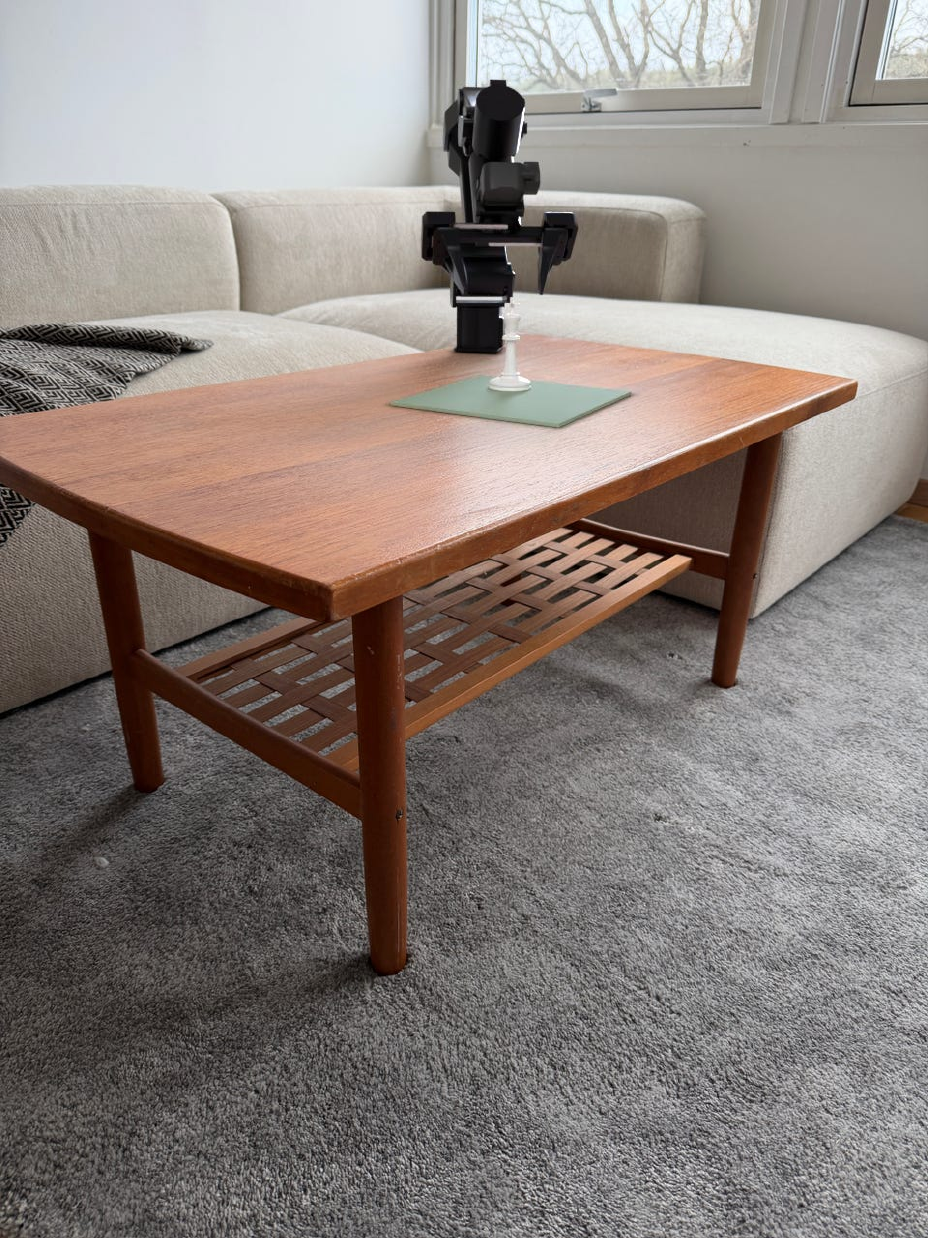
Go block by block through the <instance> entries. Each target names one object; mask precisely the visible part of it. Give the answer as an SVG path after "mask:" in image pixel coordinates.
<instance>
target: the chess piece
mask: <svg viewBox="0 0 928 1238" xmlns="http://www.w3.org/2000/svg"><path fill="white" fill-rule="evenodd" d="M504 308H505V309H506V308H507V309H509V312H508V313H505V314H503V315H502V316H503V320H504V323H505V331H506V332H505V335H504V336H502V339H503V340H505V341H506V348H505V356H504V363H503V369H502V371H500V372H499V374H500V376H496V378H494V379H491V380H490V382H489V383H490V385H489V388H490V389H493V390H497V391H509V392H514V391H525V390H529V389H530V388H531V386H530V381H529V380H530V379H527V378H525V377H522V376H519V375H521V373H520V372H519V371H518V363H517V361H518V360H517V350H516V341H520V340H521V336H520V335H517V331H518V328H519V324H520V322H521V317H522V316H521V315H520V314H518V313H516V312H515V309H516V308H517V309H520V308H521V303H520V302H515V297H514V296H513V297H510V303H505V307H504Z"/></svg>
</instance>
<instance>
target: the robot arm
mask: <svg viewBox="0 0 928 1238" xmlns="http://www.w3.org/2000/svg"><path fill="white" fill-rule="evenodd" d="M525 107H526V100H525V98H524V97H523V96H522V94H521V93H520V92H519V91H518V90H516V89H514V88H513V87H510V86H508V84H507V79H489V85H488V86H463V87H462V88H458V90H457V99H456V100H455V101H453V103H452V104H450V106H448V108H447V109H446V110H444V113H443V124H442V125H443V126H442V151H443V152H444V153H446V156H447V165H448V168H449V169H450V170H451V171H452V172H453V173H454V174H455V175H457V177H458V178H459V191H460V204H461V217H462V219H461V220H462V222H456V221H457V218H456V211H438V210H437V211H435V210H434V211H431V210H430V211H429V210H426V211H425V212H424V213H423V214H422V216H421V228H420V229H421V232H420V254H421V259H422V260H424V261H425V262H432V264H433V266H436V267H439V266H440V268H442V269H443V270H444V271H445V273H447V274H448V276H449V277H450V285H449V286H450V287H449V305H450V307H451V308H452V309H456V346H454V347H453V351H454V352H463V353H464V352H467V353H492V354H493V353H495V354H496V353H497V354H498V353H499V352H500V351H501V350H502V349H503V348H504V346H505V344H506V340H503V339H502V336H504V335H506V327H505V323H504V320H503V316H504V315H502V314H503V308H505V303H510V297H514V290H515V283H516V273H515V272H514V270H513V266H512V263H511V262H508V258H507V257H508V255H507V249H506V247H537V251H538V258H537V263H536V264H537V290H538V293H539V295H540V296H544V292H545V288H546V284H547V281H548V277H549V275H550V273H551V271H552V269H553V267H558V266H561V264H562V262H568V261H569V260H570V259H571V258H572V254H573V251H574V247H575V244H576V240H577V237H578V232H579V222H578V221H579V220H578V217H577V215H576V214H575V213H574V212H569V211H568V212H566V211H564V212H561V211H560V212H556V211H555V212H554V211H553V212H552V211H544V212H543V216H542V220H541V225H539V226H538V225H535V226H534V225H533V226H532V225H522V223H521V218H524V214H525V200H524V196H536V195H538V193H539V190H540V188H541V169H540V164H539V161H523V163H522V162H519V161H515V158H514V157H516V155H517V154H518V152H519V147H520V143H521V142H522V140H523V138H524V137H525V136H527V134H528V122H525V119H524V114H525ZM457 297H458V298H501V299H457Z"/></svg>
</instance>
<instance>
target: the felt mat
mask: <svg viewBox="0 0 928 1238" xmlns="http://www.w3.org/2000/svg"><path fill="white" fill-rule="evenodd" d="M496 377H497V376H494V375H485V374H484V375H483V374H479V375H476V376H473V377H469V378H465V379H462V380H459V381H455V382H453V383H449V384H446V385H442V386H439V387H436V388H433V389H429V390H426V391H423V392H419V393H416V394H412V395H410V396H409V395H408V396H405V397H403V398H399V399H396V400H393V401H391V402H390V406H392V407H399V408H407V409H415V410H422V411H429V412H438V413H446V414H453V415H459V416H468V417H474V418H475V417H476V418H483V419H488V420H489V419H490V420H497V421H505V422H513V423H519V424H528V425H535V426H544V427H550V428H551V427H552V428H561V427H563V426H565V425H568V424H570V423H572V422H574V421H577V420H579V419H582V418H584V417H585V416H587V415H589V414H592V413H594V412H596V411H598V410H601V409H603V408H605V407H608V406H609V405H611V404H614V403H616V402H618V401H621V400H623V399H624V398H627V397H629V396H631V395H632V391H631V390H624V389H615V388H605V387H597V386H586V385H577V384H569V383H568V384H567V383H559V382H550V381H540V380H532V379H528V380H529V381H530V386H531V388H530V389H529V390H525V391H514V392H509V391H497V390H493V389H490V388H489V385H490V383H489V382H490V380H491V379H494V378H496Z"/></svg>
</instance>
